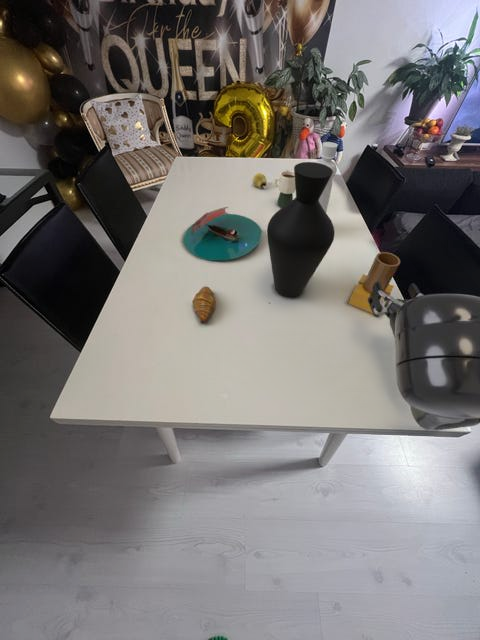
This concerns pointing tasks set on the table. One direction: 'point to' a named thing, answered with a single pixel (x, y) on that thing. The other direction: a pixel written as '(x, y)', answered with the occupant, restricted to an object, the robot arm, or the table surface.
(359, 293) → the box
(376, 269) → the cup
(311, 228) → the vase
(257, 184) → the fruit
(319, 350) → the table surface
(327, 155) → the bottle
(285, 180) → the character mug
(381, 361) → the table surface
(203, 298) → the croissant
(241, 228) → the boat on round base
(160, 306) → the table surface
